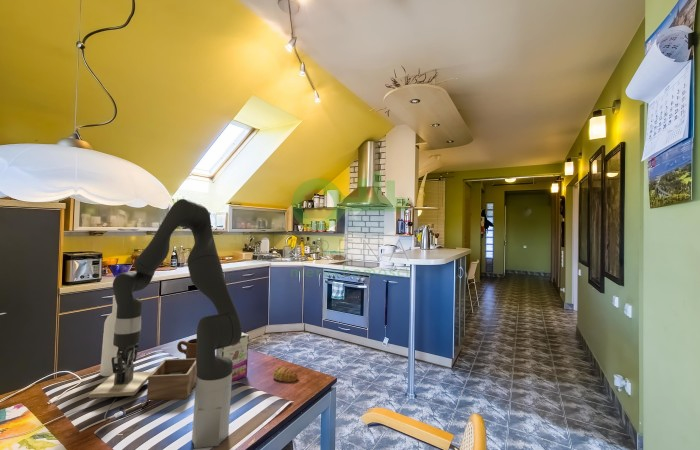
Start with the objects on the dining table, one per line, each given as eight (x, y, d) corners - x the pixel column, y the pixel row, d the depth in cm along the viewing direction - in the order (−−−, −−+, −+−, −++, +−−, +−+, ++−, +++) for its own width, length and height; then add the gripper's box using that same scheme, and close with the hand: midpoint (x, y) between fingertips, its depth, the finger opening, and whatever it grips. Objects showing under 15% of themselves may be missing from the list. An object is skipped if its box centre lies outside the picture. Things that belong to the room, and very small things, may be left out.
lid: (133, 397, 98) (135, 375, 99) (88, 400, 96) (90, 377, 96) (152, 377, 113) (154, 357, 113) (113, 378, 110) (115, 359, 110)
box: (186, 399, 102) (188, 374, 102) (146, 401, 99) (148, 376, 100) (197, 379, 116) (199, 358, 116) (162, 381, 113) (164, 359, 113)
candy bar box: (239, 372, 123) (242, 331, 124) (247, 376, 120) (249, 334, 121) (213, 382, 114) (216, 338, 115) (220, 386, 111) (223, 341, 112)
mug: (170, 366, 126) (172, 343, 126) (181, 358, 134) (182, 337, 134) (199, 367, 126) (201, 344, 126) (208, 360, 133) (209, 338, 134)
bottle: (119, 376, 115) (125, 296, 116) (95, 377, 114) (101, 296, 115) (129, 367, 123) (135, 292, 124) (107, 368, 121) (113, 292, 123)
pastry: (300, 377, 122) (301, 367, 123) (292, 384, 116) (293, 374, 116) (279, 373, 125) (280, 363, 125) (271, 380, 119) (271, 370, 119)
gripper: (130, 336, 99) (125, 390, 98) (148, 323, 113) (145, 370, 112) (103, 336, 97) (99, 391, 96) (125, 323, 111) (122, 371, 110)
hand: (123, 380), depth 104 cm, fingers closed on lid, 4 cm apart
